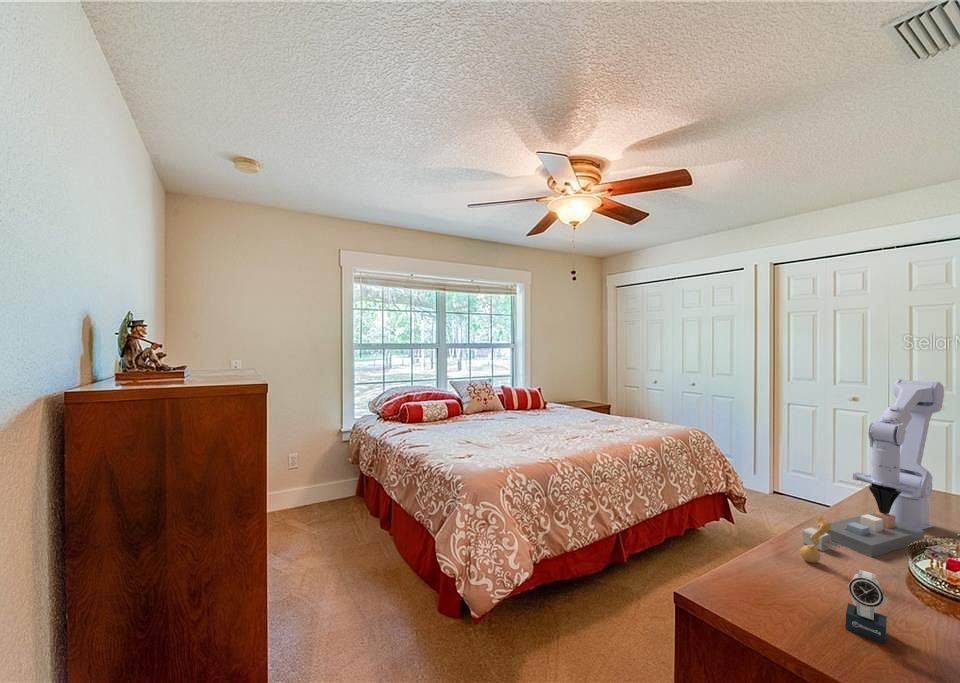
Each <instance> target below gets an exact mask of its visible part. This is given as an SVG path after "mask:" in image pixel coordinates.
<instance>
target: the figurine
mask: <svg viewBox="0 0 960 683" xmlns="http://www.w3.org/2000/svg"><path fill="white" fill-rule="evenodd" d="M816 520H817V530H818V531H817V532H816V533H814V534H813V535H812V536H810V538H809V539H811V540H812V542H813V543H814V545H812V544H811V545H806V544H804V545H803V546H802V545H801V546H802V547H801V548H800V549H799V553H800V556H801V557H802V559H804V561H805V562H808V563H812V564H814V563H815V564H817V562H819V561H820V560H821V553H820V550H818V549H816V548H815V547H816V546H817V545H818V544H819V540H818V539H817V538H819V537H820V536H822V535H824V534H825V533H826V532H827V531H828V530H829V529H830V528H831V524H830V523H831V522H829V521H827V520H825V519H824V518H822V517H821V516H817V518H816ZM814 539H815V540H814Z"/></svg>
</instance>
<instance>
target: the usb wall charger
mask: <svg viewBox="0 0 960 683" xmlns="http://www.w3.org/2000/svg"><path fill="white" fill-rule="evenodd" d="M817 531H818V528H815V527H808V528H804V530H803V531H802V533H803V535H802V537H803V539H802V542H803V544H804V545H811V544H812V545H814V543H813V542H812V540H811V539H809V538H810V536H812V535H813V534H814V533H816V532H817ZM830 538H831V536H830V534H827V533H825V534H824V535H822V536H820V537H819V538H817V539H818V540H819V544H818V545H817V546H816V547H815V548H816V549H817V550H818V551H821V552H824V551H827V550H830V549H833V550H836V548H841V545H840V544H838V543H835V542H833V541H830ZM814 540H815V539H814Z"/></svg>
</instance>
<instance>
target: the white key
mask: <svg viewBox="0 0 960 683" xmlns="http://www.w3.org/2000/svg"><path fill="white" fill-rule="evenodd" d="M869 514H870V513H868V514H862V515H859V516H860V524H861V525H864V526H867V527H870V529H869V530H870V531H873V532H875V533H877V532H881V531H883V519H881V518H878V517H875V516H872V515H869Z"/></svg>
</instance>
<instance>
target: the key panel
mask: <svg viewBox="0 0 960 683" xmlns="http://www.w3.org/2000/svg"><path fill="white" fill-rule="evenodd" d="M868 514H869V515H872V516H873V513H868ZM860 516H861V515H858V516H853V517H850V518H846V519H842V520H838V521H832V522H829V523H830V524H831V528H830V529H829V530H828V531H827V532H826V533H827V534H830V536H831V538H830V541H831V542H833V543H836V544H838V545H840V546H842V547H845V548H847V549H850V550H853V551H855V552H858V553H860V554H862V555H864V556H867V557H870V558H874V557H877V556H881V555H884V554H888V553H891V552H894V551H897V550H900V549H901V550H902V549H904V548H907V546H908V545H910V544H911V543H913V542H915V541H918V540H922V539H924V540H925V530H924V529H923V530H920V529H917V528H914V527H911V526H908V525H905V524H902V523H899V522H896V521H895V528H892V529H887V528H884V527H883V531H881V532H877V533H875V532H873V531H870V530H869V535H866V536H861V535H858V534H855V533H853V532H850V531H847V524H849V523H853V522H856V523H859V524H860ZM908 547H909V546H908Z"/></svg>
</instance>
